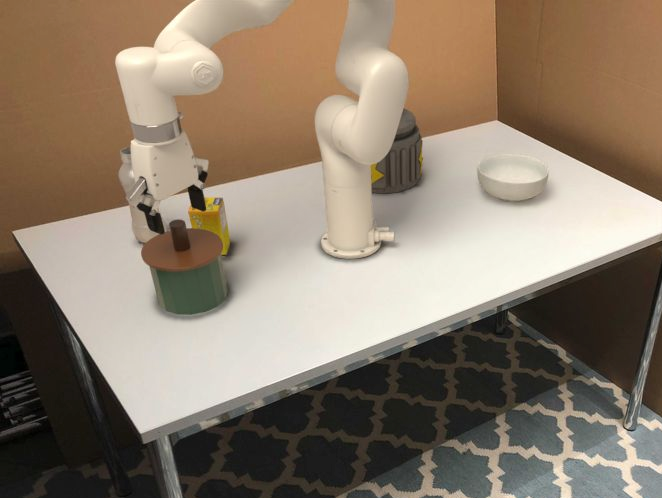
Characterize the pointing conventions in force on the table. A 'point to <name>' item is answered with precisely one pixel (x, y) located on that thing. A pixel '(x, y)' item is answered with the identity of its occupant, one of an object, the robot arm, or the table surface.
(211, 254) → the canister lid
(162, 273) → the canister
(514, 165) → the cereal bowl
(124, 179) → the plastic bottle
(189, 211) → the supplement box
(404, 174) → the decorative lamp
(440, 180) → the table surface
